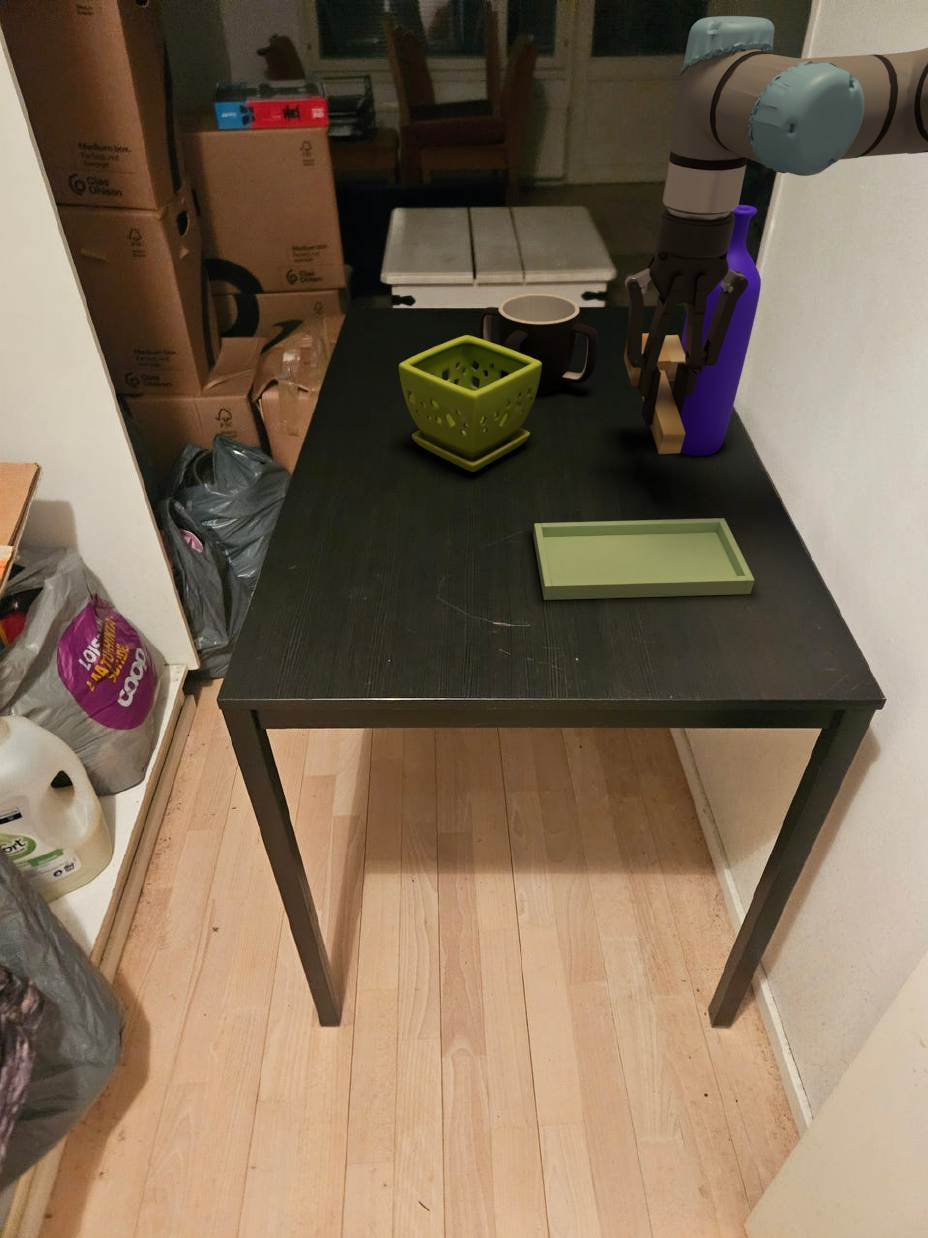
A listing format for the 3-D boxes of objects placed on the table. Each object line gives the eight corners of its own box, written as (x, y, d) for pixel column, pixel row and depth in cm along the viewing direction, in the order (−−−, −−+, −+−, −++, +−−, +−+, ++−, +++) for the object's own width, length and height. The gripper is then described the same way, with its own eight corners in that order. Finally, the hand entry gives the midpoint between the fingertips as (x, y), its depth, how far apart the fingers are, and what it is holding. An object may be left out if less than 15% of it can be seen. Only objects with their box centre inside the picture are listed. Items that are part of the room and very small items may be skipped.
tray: (720, 531, 92) (724, 517, 90) (750, 594, 83) (755, 580, 82) (533, 536, 91) (534, 523, 90) (543, 600, 83) (544, 586, 81)
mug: (597, 402, 117) (606, 324, 109) (494, 411, 115) (496, 332, 107) (570, 358, 129) (576, 284, 121) (476, 365, 127) (476, 291, 119)
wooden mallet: (705, 452, 91) (713, 428, 88) (650, 454, 91) (656, 430, 88) (672, 355, 102) (678, 331, 99) (623, 357, 102) (627, 333, 99)
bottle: (698, 423, 112) (748, 194, 91) (735, 449, 106) (797, 212, 86) (651, 435, 109) (691, 203, 89) (686, 462, 103) (738, 221, 83)
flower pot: (473, 486, 100) (473, 395, 91) (400, 450, 107) (393, 363, 98) (541, 446, 107) (546, 358, 99) (468, 415, 114) (467, 330, 106)
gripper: (763, 197, 81) (715, 403, 97) (615, 200, 81) (591, 406, 97) (787, 218, 75) (732, 432, 91) (629, 220, 75) (601, 435, 91)
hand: (660, 418), depth 94 cm, fingers closed on wooden mallet, 3 cm apart
